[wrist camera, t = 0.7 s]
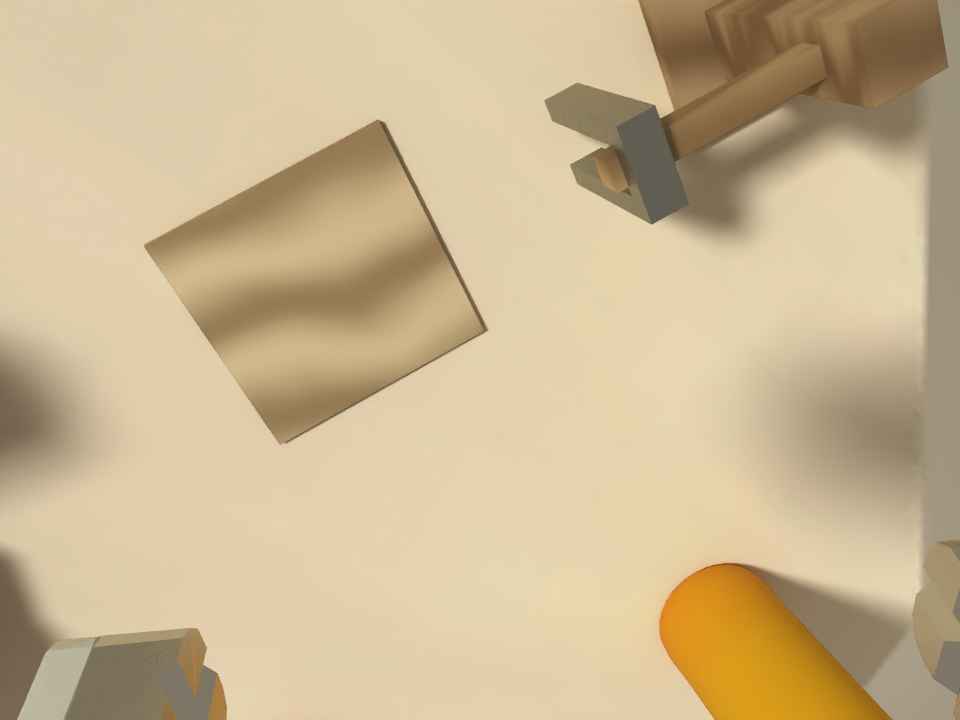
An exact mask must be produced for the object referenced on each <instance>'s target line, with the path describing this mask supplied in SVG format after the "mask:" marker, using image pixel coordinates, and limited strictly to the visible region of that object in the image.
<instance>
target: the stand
mask: <svg viewBox="0 0 960 720" xmlns="http://www.w3.org/2000/svg"><path fill="white" fill-rule="evenodd" d="M639 3H640V6H641V9H642V12H643V15H644V18H645V22H646V25H647V28H648V31H649V34H650V37H651V40H652V43H653V46H654V49H655V52H656V55H657V58H658V61H659V64H660V67H661V70H662V73H663V76H664V79H665V83H666V86H667V89H668V92H669V95H670V98H671V101H672V104H673V107H674V110H675V111H674V112H672V113H670V114H668V115H666V116H665V117H663V118H661V119H660V121H661V124H662V127H663V130H664V133H665V136H666V139H667V142H668V145H669V148H670V151H671V154H672V157H673V160H674V162H675V161H676V160H678V159H680V158H682V157H684V156H686V155H687V154H689V153H691V152H693V151H695V150H696V149H698V148H700V147H702V146H704V145H705V144H707V143H709V142H711V141H713V140H714V139H716V138H718V137H720V136H722V135H723V134H725V133H727V132H729V131H731V130H732V129H734V128H736V127H738V126H740V125H742V124H743V123H745V122H747V121H749V120H751V119H752V118H754V117H756V116H758V115H760V114H761V113H763V112H765V111H767V110H769V109H770V108H772V107H774V106H776V105H778V104H779V103H781V102H783V101H785V100H787V99H789V98H790V97H792V96H794V95H796V94H798V93H799V94H804V95H809V96H814V97H819V98H824V99H829V100H834V101H838V102H843V103H848V104H853V105H858V106H863V107H868V108H873V109H875V108H877V107H879V106H880V105H882V104H884V103H886V102H888V101H889V100H891V99H893V98H895V97H896V96H898V95H900V94H902V93H904V92H905V91H907V90H909V89H911V88H913V87H914V86H916V85H918V84H920V83H922V82H923V81H925V80H927V79H929V78H930V77H932V76H934V75H936V74H938V73H939V72H941V71H943V70H945V69H946V68H948V63H947V57H946V51H945V45H944V39H943V33H942V28H941V22H940V16H939V10H938V3H937V0H639ZM592 157H593V160H594V162H595V165H596V167H597V170H598V173H599V175H600V178H601V180H602V183H603V185H604V186H605V187H607V188H609V189H611V190H613V191H615V192H616V193H619V192H620V191H622V190H624V189H626V188H628V184H627V181H626V178H625V176H624V173H623V170H622V168H621V165H620V162H619V160H618V157H617V154H616V152H615V149H614V147H613V146H610V147H608V148H606V149H605V150H603V151H601V152H599V153H597V154H595V155H594V156H592Z"/></svg>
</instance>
